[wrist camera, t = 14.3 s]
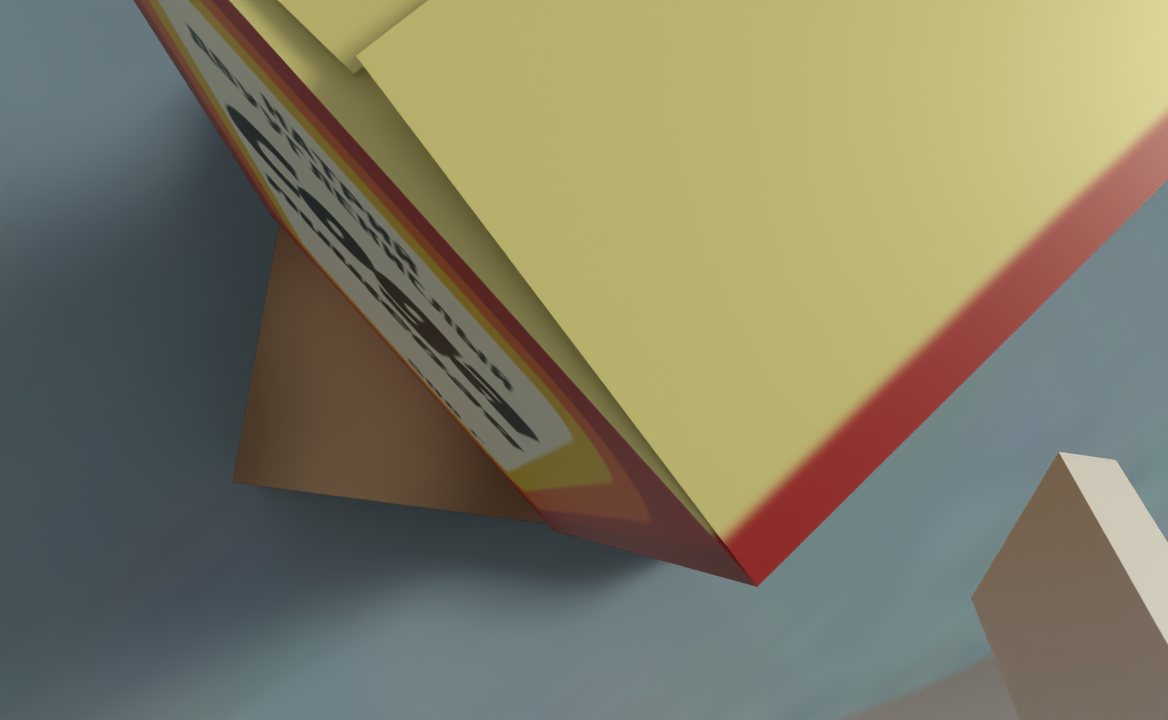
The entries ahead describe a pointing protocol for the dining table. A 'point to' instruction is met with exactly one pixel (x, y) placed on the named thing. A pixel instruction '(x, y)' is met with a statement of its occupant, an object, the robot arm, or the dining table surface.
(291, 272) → the plinth
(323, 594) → the dining table surface
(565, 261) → the baking soda box
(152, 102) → the dining table surface
